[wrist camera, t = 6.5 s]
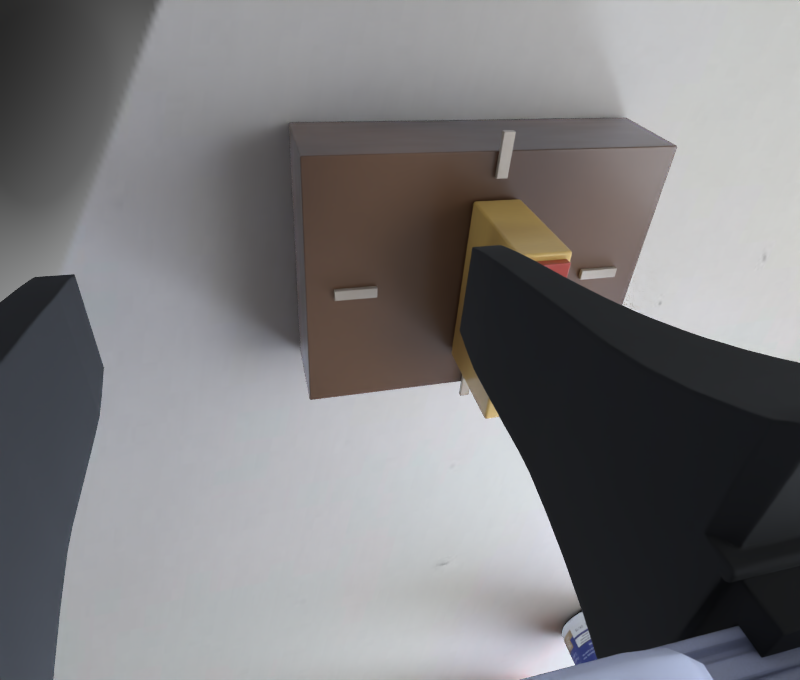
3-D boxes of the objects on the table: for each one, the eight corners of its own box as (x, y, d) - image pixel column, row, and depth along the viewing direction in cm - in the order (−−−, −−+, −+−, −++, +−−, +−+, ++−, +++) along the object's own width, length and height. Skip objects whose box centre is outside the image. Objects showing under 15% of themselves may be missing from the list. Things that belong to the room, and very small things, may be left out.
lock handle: (490, 349, 22) (533, 418, 19) (450, 353, 22) (487, 425, 19) (520, 198, 18) (578, 255, 15) (473, 200, 18) (522, 260, 15)
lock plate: (300, 361, 24) (311, 415, 21) (287, 101, 18) (299, 135, 15) (564, 333, 27) (600, 377, 24) (632, 99, 21) (688, 128, 18)
